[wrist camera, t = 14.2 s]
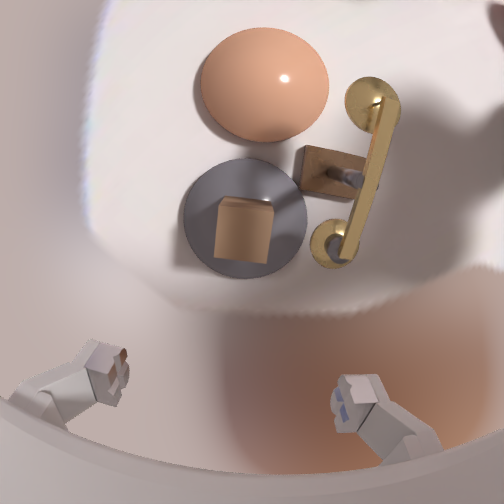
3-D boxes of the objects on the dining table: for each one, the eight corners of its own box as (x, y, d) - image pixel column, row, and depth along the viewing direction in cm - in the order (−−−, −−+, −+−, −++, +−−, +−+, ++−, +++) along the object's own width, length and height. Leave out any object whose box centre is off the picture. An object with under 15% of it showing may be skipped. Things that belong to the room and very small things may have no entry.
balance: (370, 104, 28) (433, 85, 16) (343, 251, 35) (387, 305, 22) (313, 90, 28) (351, 54, 15) (288, 243, 34) (308, 298, 22)
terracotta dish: (331, 43, 26) (334, 40, 25) (317, 151, 31) (320, 152, 30) (212, 26, 25) (211, 22, 24) (194, 134, 30) (192, 134, 29)
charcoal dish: (314, 168, 31) (317, 169, 30) (293, 281, 36) (294, 285, 35) (192, 152, 31) (189, 152, 30) (182, 266, 35) (180, 270, 34)
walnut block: (270, 201, 31) (274, 212, 26) (264, 244, 33) (266, 263, 27) (225, 195, 31) (218, 205, 26) (220, 238, 33) (213, 257, 27)
